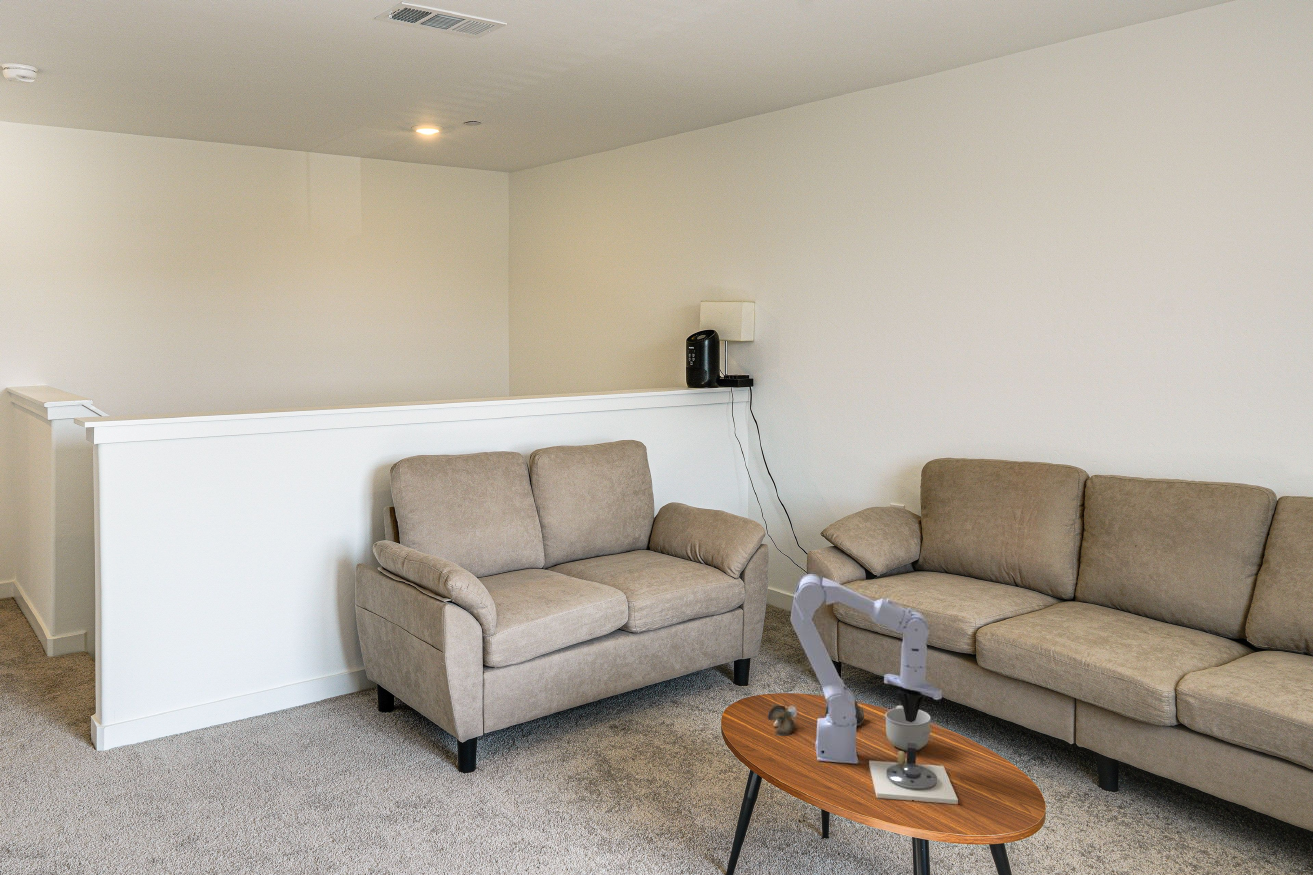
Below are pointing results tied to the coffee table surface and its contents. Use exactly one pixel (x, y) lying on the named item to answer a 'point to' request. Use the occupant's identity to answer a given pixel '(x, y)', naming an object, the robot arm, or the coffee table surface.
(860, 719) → the fossil
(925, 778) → the flange plate
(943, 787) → the base plate
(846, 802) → the coffee table surface
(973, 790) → the coffee table surface
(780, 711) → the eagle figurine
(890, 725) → the teacup
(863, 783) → the coffee table surface
